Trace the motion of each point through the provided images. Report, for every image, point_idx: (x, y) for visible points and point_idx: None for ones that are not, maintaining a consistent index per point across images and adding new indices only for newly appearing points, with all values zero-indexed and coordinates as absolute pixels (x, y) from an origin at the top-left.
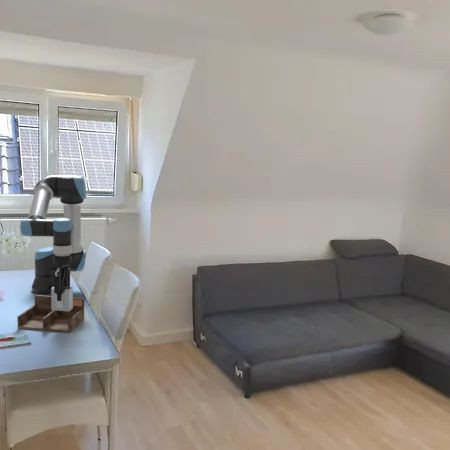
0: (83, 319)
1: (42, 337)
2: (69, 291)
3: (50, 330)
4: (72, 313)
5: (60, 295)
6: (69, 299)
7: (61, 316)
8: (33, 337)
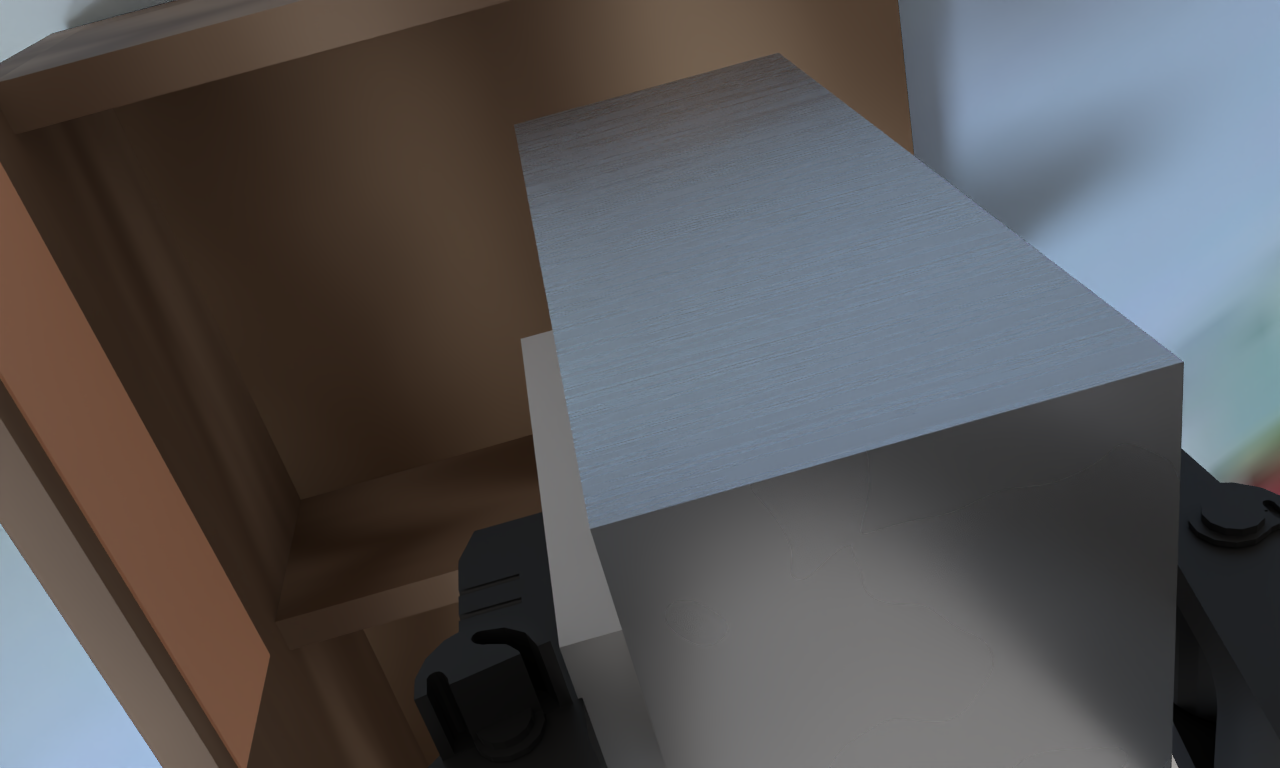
0: (86, 25)
1: (1154, 153)
2: (1052, 313)
3: None
4: (178, 308)
5: (1184, 478)
6: (879, 167)
7: (309, 458)
8: (1180, 272)
